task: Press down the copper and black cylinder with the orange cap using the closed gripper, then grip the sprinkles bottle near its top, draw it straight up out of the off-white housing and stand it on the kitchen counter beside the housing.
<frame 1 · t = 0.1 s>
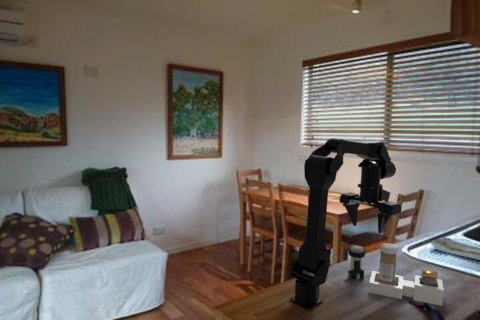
hand: (367, 229, 117), 15 cm above the kitchen counter, tool pointing down, fingers open, 9 cm apart
push button: (353, 278, 116), on the kitchen counter
copper and black cylinder: (428, 281, 104), point 5 cm above the kitchen counter, slide at 0.0 cm
sprinkles bottle: (385, 289, 109), resting in housing
housing: (385, 289, 109), on the kitchen counter
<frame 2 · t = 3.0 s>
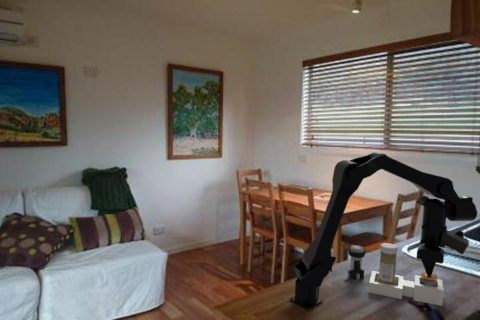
hand: (429, 275, 104), 7 cm above the kitchen counter, tool pointing down, fingers closed, pressing on copper and black cylinder
copper and black cylinder: (428, 284, 104), point 4 cm above the kitchen counter, slide at -0.9 cm, touching gripper
everything else where it was.
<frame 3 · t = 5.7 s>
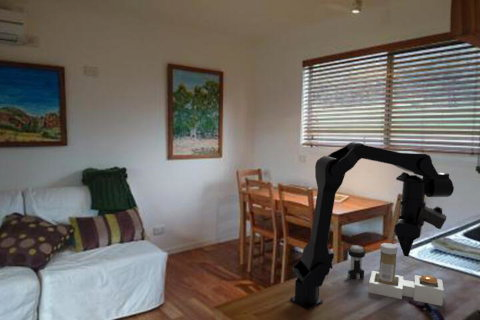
hand: (408, 251, 105), 13 cm above the kitchen counter, tool pointing down, fingers open, 9 cm apart
copper and black cylinder: (428, 287, 104), point 3 cm above the kitchen counter, slide at -1.8 cm
everything else where it was.
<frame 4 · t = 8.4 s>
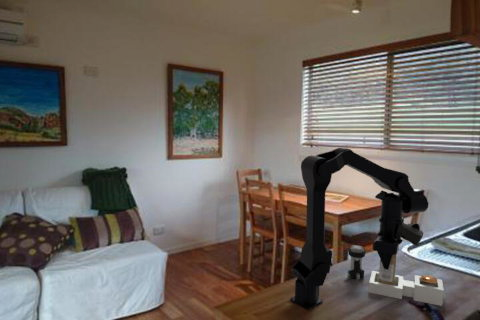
hand: (387, 266, 108), 7 cm above the kitchen counter, tool pointing down, fingers closed on sprinkles bottle, 4 cm apart
sprinkles bottle: (385, 289, 109), resting in housing, touching gripper
everything else where it was.
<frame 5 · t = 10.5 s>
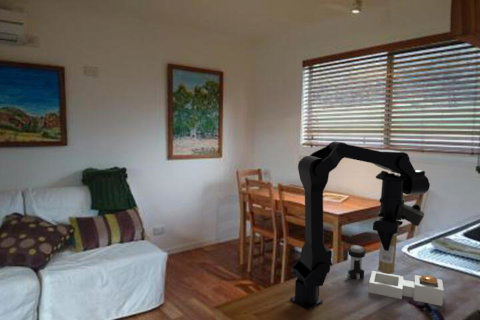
hand: (387, 247, 107), 13 cm above the kitchen counter, tool pointing down, fingers closed on sprinkles bottle, 4 cm apart
sprinkles bottle: (385, 271, 108), point 6 cm above the kitchen counter, touching gripper
everything else where it was.
when the fingers open (8 cm above the kitchen counter, at t = 12.8 s): sprinkles bottle stays where it is, on the kitchen counter.
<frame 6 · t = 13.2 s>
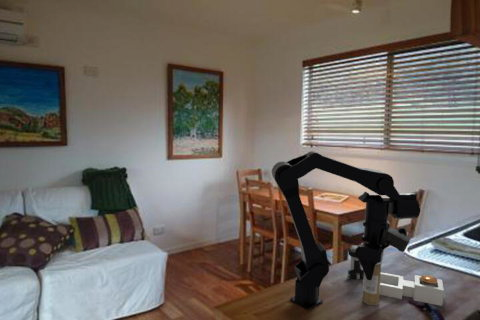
hand: (372, 273, 101), 8 cm above the kitchen counter, tool pointing down, fingers open, 9 cm apart
sprinkles bottle: (370, 302, 102), on the kitchen counter
everything else where it was.
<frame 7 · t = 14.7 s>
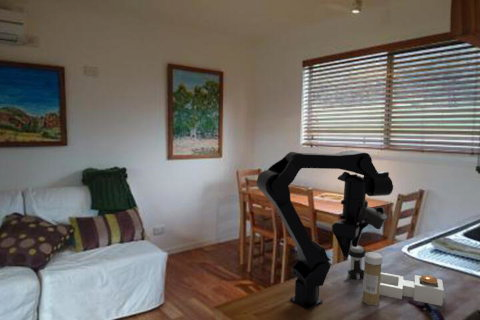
hand: (350, 251, 104), 13 cm above the kitchen counter, tool pointing down, fingers open, 9 cm apart
nothing on the kitchen counter moved.
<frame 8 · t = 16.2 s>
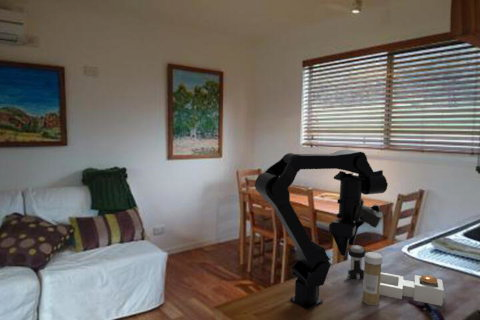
hand: (347, 250, 104), 13 cm above the kitchen counter, tool pointing down, fingers open, 9 cm apart
nothing on the kitchen counter moved.
at the end: copper and black cylinder slide at -1.8 cm; sprinkles bottle 0.3 cm from the target spot, on the kitchen counter; sprinkles bottle tilted 0° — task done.
